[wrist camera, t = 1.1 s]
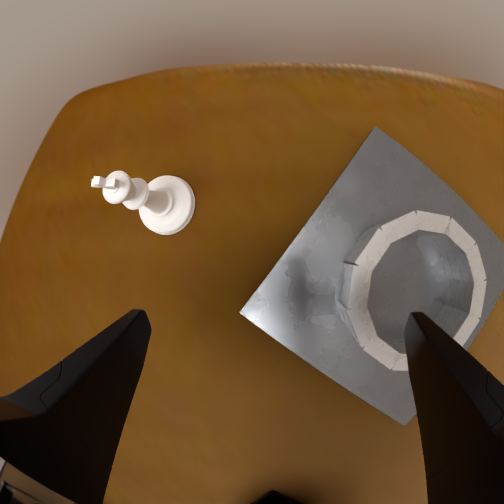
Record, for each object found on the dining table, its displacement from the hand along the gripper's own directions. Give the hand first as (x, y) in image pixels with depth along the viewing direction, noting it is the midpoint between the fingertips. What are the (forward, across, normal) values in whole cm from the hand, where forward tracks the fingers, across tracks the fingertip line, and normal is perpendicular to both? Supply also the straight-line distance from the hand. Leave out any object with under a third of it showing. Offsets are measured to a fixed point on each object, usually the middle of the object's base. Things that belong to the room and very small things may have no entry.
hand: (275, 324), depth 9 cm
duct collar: (+11, -9, +7) cm, 16 cm away
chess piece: (+15, +10, +2) cm, 18 cm away
